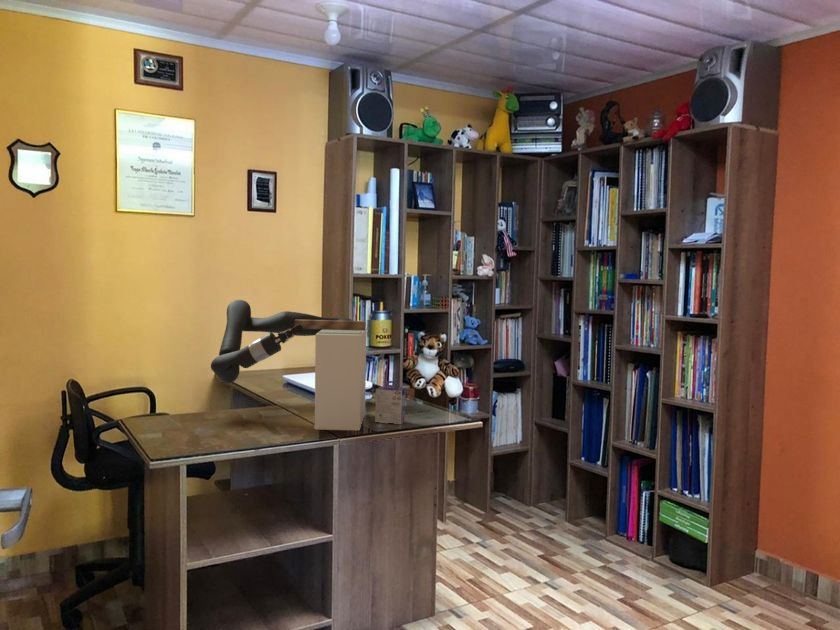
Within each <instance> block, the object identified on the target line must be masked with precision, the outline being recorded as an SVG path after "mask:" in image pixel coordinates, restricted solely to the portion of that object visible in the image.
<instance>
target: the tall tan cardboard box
mask: <svg viewBox="0 0 840 630" xmlns="http://www.w3.org/2000/svg"><path fill="white" fill-rule="evenodd" d="M314 349H315V350H314V353H315V356H314V359H315V361H314V362H315V364H314V368H315V369H314V380H315V381H314V430H320V431H321V430H322V431H323V430H324V431H325V430H327V431H360V429H361V427H362V425H361V424H363V422H362V421H364V419H365V416H364V415H366V384H367V383H366V377H367V376H366V375H367V374H366V373H367V328H366V329H365V330H333V329H322V330H321V331H319V332H318V333H317V334H316V335H315V348H314ZM363 418H364V419H363Z"/></svg>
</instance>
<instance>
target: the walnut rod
mask: <svg viewBox="0 0 840 630" xmlns="http://www.w3.org/2000/svg"><path fill="white" fill-rule="evenodd" d="M366 322H367V321H366V320H353V321H342V320H298V319H296V320H294V327H296V326H298V325H300V324H301V325H302V327H303V329H333V330H365V329H366V330H367V327H366V326H367V325H366Z"/></svg>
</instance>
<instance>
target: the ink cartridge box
mask: <svg viewBox="0 0 840 630" xmlns="http://www.w3.org/2000/svg"><path fill="white" fill-rule="evenodd" d="M393 384H394V385H393ZM397 385H398V381H396V380H387V381H386V385H385V386H379V387H376V389H375V400H374V401H375V408H374V409H375V410H374V423H375V422H381V423H380V424H388V423H394V424H393V425H402V424H404V423H405V422H406V387H397ZM404 421H405V422H404ZM403 422H404V423H403Z"/></svg>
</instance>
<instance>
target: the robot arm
mask: <svg viewBox="0 0 840 630" xmlns="http://www.w3.org/2000/svg"><path fill="white" fill-rule="evenodd" d="M226 307H227V308H226V325H225V330H224V334H223V338H222V340H221V344H220V348H219V353H218V356H216V357H215V358H213V360H212V361H211V363H210V369H211V371H212V372H213V373H214V374H215V376H217V377H218V379H219V380H220V381H221V382H222V383H224V384H227V385H228V384H232V383H234V382H235V381H236V380H237V379H238V378H239V375H240V369H241V368H243V369H248V368H251V367H252V366H254V365H256V364H258V363H259V362H261V361H264V360H266V359H268V358H270V357H272V356H273V355H275V354H277V353H279V352H281V351H282V346H281V344H285V343H287V342H288V341H289V340H291V339H292V338H294V337H295V336H296V337H297V336H299V337H308V336H311V337H312V336H316V334H317V333H318V332H319V331H321V330H322V329H303V327H302V325H301V324H300V325H298V326H296V327H294V320H296V319H298V320H342V321H354V320H353V319H351V318H348V317H344V318H343V317H340V318H339V317H337V318H336V317H321V316H318V315H313V314H309V313H303V312H297V311H296V312H295V311H289V310H285V311H281V312H277V313H276V314H273V315H271V316H270V315H269V316H268V317H254V316H253V317H252V309H251V306H250V304H249V302H247V301H246V300H243V299H235V300H233V301H230V303H228V304H227V306H226ZM243 332H252V333H253V332H255V333H256V332H260V333H261V332H262V333H265V335H262V336H261V337H260V338H257V339H255V340H254V341H253V342H251V343H250V344H249V345H246V346H244V347H243V348H241V347H242V342H243V341H242V338H243ZM266 333H267V334H266ZM275 334H277V336H276V335H275ZM240 367H241V368H240Z"/></svg>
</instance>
